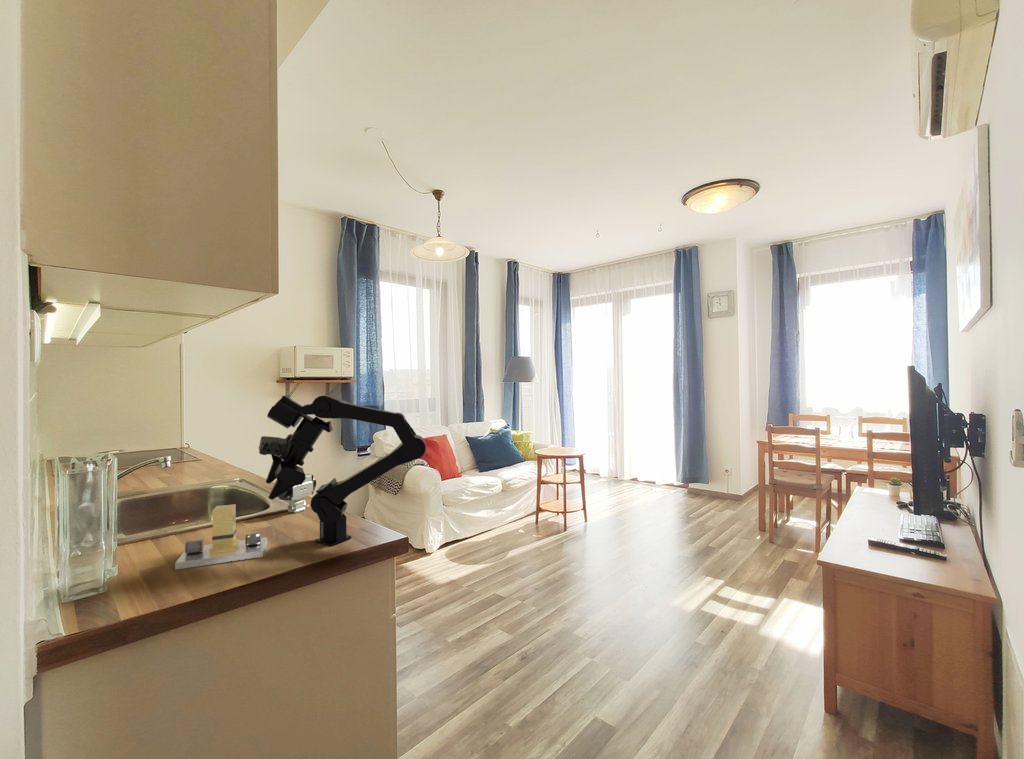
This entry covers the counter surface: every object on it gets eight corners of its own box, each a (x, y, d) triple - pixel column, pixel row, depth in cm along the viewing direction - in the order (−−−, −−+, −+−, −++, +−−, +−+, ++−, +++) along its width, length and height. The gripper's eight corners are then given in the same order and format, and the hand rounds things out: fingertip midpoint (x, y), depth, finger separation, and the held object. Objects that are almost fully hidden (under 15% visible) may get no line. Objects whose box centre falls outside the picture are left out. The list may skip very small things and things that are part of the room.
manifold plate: (267, 542, 115) (267, 526, 115) (262, 557, 106) (262, 539, 106) (187, 553, 108) (187, 535, 108) (175, 569, 99) (175, 550, 99)
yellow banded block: (239, 543, 111) (238, 503, 111) (235, 551, 106) (235, 508, 106) (214, 546, 109) (213, 505, 108) (209, 554, 104) (208, 511, 104)
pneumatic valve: (275, 515, 138) (274, 476, 138) (306, 505, 149) (306, 469, 148) (288, 517, 136) (287, 478, 136) (318, 507, 146) (318, 470, 146)
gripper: (270, 413, 118) (235, 464, 117) (277, 437, 103) (237, 496, 101) (309, 431, 125) (277, 479, 123) (321, 456, 109) (284, 512, 108)
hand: (268, 490), depth 114 cm, fingers open, 9 cm apart
